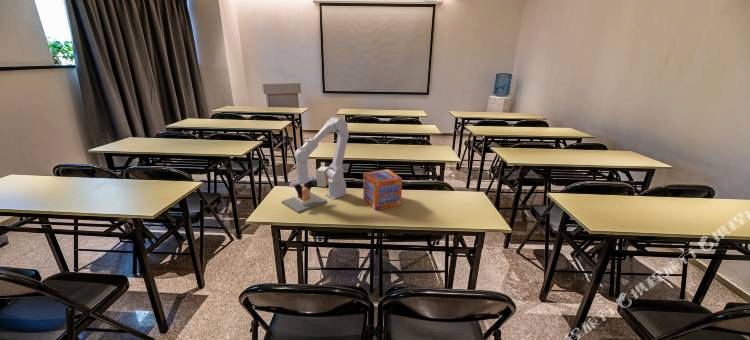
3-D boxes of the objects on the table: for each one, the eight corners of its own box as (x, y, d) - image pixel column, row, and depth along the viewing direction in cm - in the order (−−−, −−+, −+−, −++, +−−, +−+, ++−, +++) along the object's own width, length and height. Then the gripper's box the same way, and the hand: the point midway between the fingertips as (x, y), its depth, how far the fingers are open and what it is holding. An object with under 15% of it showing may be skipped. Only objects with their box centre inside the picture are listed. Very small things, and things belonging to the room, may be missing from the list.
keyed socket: (310, 193, 176) (309, 188, 175) (327, 202, 165) (326, 197, 164) (281, 202, 164) (281, 197, 163) (298, 213, 153) (297, 207, 152)
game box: (401, 205, 164) (402, 178, 159) (375, 210, 157) (375, 182, 152) (387, 194, 177) (388, 168, 172) (363, 198, 171) (363, 172, 165)
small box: (325, 187, 185) (324, 170, 182) (316, 186, 186) (316, 170, 183) (330, 182, 193) (329, 166, 189) (321, 181, 194) (320, 165, 190)
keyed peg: (310, 199, 163) (310, 189, 161) (304, 202, 161) (303, 191, 159) (304, 196, 167) (303, 186, 165) (297, 198, 165) (297, 188, 163)
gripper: (309, 167, 166) (311, 190, 171) (285, 173, 156) (287, 197, 161) (317, 170, 162) (318, 193, 166) (293, 177, 152) (295, 201, 156)
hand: (304, 196), depth 163 cm, fingers closed on keyed peg, 4 cm apart
